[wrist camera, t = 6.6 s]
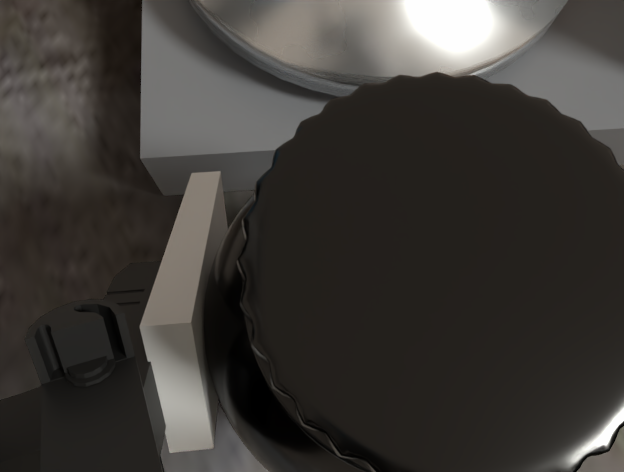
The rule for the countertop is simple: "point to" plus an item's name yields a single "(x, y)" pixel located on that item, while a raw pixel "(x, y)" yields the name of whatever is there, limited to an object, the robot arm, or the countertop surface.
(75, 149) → the countertop surface
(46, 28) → the countertop surface
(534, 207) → the supplement bottle
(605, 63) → the scale
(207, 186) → the robot arm
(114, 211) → the countertop surface
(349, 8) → the scale pan
